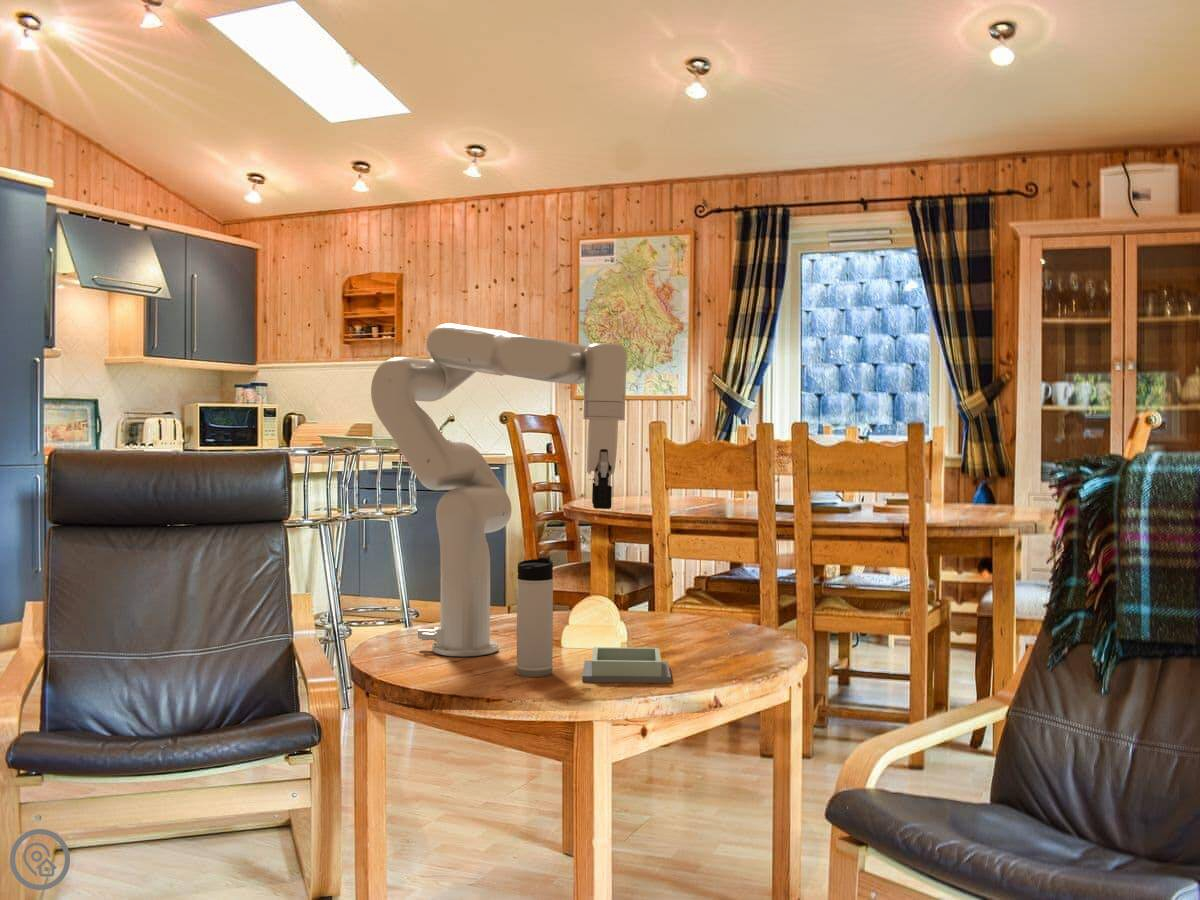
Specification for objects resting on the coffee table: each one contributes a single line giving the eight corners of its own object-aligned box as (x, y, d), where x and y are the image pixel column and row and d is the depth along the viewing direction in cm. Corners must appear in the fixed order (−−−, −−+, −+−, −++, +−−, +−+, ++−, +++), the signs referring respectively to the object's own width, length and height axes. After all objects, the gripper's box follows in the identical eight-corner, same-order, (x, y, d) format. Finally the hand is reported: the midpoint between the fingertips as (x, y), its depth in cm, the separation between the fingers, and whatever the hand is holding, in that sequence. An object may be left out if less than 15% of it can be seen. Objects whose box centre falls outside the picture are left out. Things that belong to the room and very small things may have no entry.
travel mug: (559, 671, 189) (560, 558, 189) (540, 679, 183) (541, 562, 183) (529, 667, 192) (530, 556, 192) (509, 674, 186) (510, 560, 186)
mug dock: (582, 681, 181) (582, 661, 181) (584, 666, 193) (584, 646, 193) (670, 683, 181) (671, 662, 181) (667, 667, 193) (667, 647, 193)
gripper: (582, 412, 202) (580, 502, 202) (584, 411, 185) (581, 509, 185) (622, 413, 202) (619, 503, 203) (627, 412, 185) (624, 511, 185)
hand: (601, 506), depth 194 cm, fingers open, 9 cm apart
